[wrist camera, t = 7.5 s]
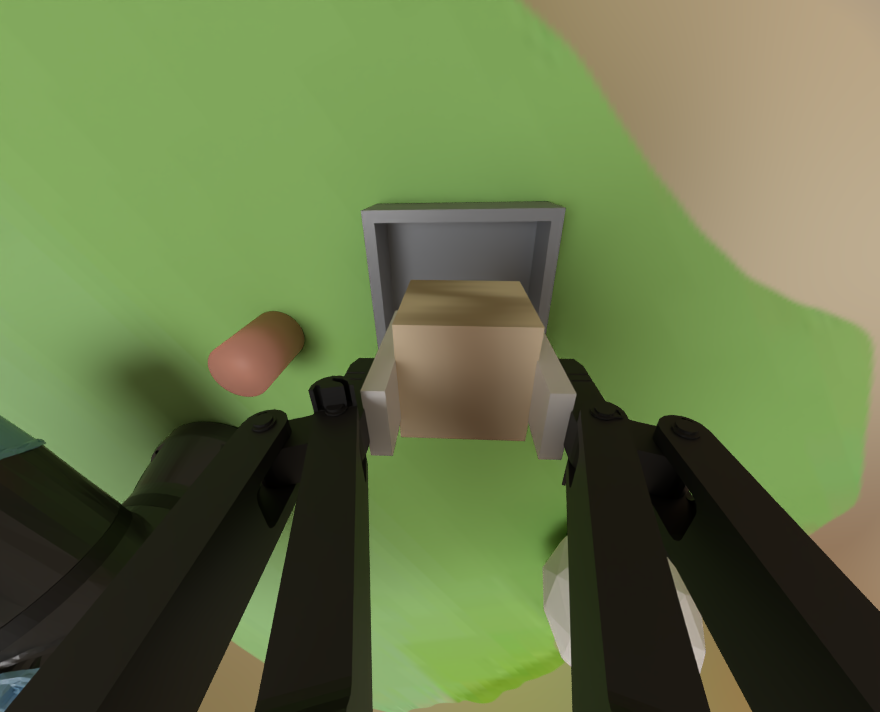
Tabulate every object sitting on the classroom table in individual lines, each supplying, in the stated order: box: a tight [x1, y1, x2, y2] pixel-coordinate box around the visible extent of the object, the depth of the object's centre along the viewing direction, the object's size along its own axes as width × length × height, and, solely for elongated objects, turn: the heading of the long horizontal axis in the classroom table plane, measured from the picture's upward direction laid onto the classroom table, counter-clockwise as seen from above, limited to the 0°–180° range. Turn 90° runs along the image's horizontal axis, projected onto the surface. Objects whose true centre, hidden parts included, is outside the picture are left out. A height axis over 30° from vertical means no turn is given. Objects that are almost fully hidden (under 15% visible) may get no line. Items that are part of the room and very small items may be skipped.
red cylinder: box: [208, 311, 305, 397], centre depth 30 cm, size 5×5×7 cm
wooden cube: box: [392, 280, 545, 441], centre depth 14 cm, size 5×5×5 cm
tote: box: [361, 201, 566, 349], centre depth 28 cm, size 18×14×5 cm
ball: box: [543, 535, 706, 673], centre depth 38 cm, size 17×25×24 cm
